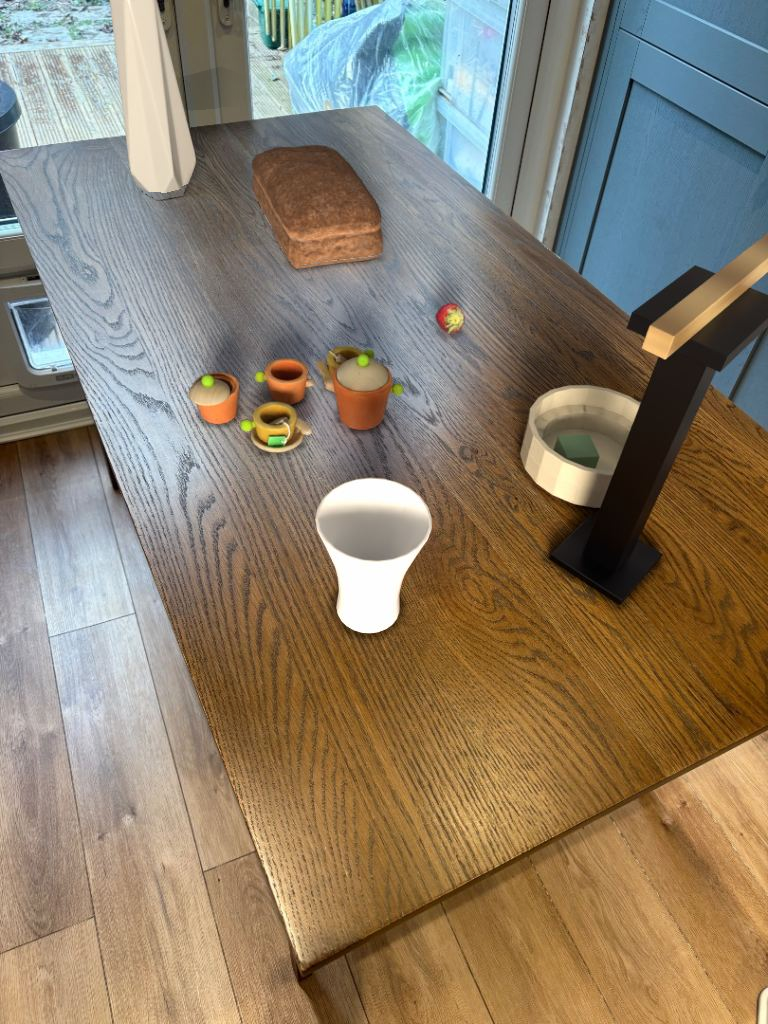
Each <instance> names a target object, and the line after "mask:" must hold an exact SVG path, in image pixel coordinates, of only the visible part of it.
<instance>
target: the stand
mask: <svg viewBox="0 0 768 1024" xmlns="http://www.w3.org/2000/svg"><path fill="white" fill-rule="evenodd" d="M716 273H717V272H716ZM716 273H715V272H713V271H711V270H709V269H706V268H703V267H701V266H699V265H695V264H694V265H693V266H692V267H690V268H689V269H688V270H686V271H685V272H683V274H680V276H679V277H677V278H675V279H674V280H673V281H672V282H670V283H669V284H668V285H666V286H665V287H664V288H662V289H661V290H660V291H658V292H657V293H656V294H654V295H653V296H651V297H650V298H649V299H648V300H646V301H644V303H642V304H641V305H639V306H637V308H635V309H634V310H633V311H631V313H630V317H629V320H628V323H627V325H626V329H627V330H629V331H631V332H633V333H635V334H637V335H640V336H642V337H644V338H645V337H646V334H647V331H648V329H649V326H650V325H651V324H652V323H653V322H655V321H656V320H657V319H659V318H660V317H661V316H662V315H664V314H665V313H666V312H667V311H669V310H670V309H671V308H673V307H674V306H675V305H676V304H678V303H679V302H680V301H681V300H683V299H684V298H685V297H687V296H688V295H689V294H690V293H692V292H693V291H694V290H695V289H697V288H698V287H699V286H701V285H702V284H703V283H704V282H706V281H707V280H708V279H709V278H711V277H712V276H713V275H715V274H716ZM767 328H768V294H767V293H764V292H762V291H759V290H757V289H755V288H753V287H750V288H748V289H747V290H746V291H745V292H744V293H743V294H741V295H740V296H739V297H738V298H737V299H736V300H734V301H733V302H732V303H731V304H730V305H729V306H727V307H726V308H725V309H724V310H723V311H722V312H720V313H719V314H718V315H717V316H716V317H715V318H713V319H712V320H711V321H710V322H709V323H708V324H706V325H705V326H704V327H703V328H702V329H700V330H699V331H698V332H697V333H696V334H695V335H693V336H692V337H691V338H690V339H689V340H688V341H686V342H685V343H684V344H683V345H682V346H681V347H679V348H678V349H677V350H676V351H675V352H674V353H672V354H671V355H670V356H669V357H668V358H667V359H663V358H661V357H659V356H657V359H656V361H655V365H654V367H653V370H652V372H651V374H650V377H649V381H648V383H647V385H646V388H645V390H644V393H643V396H642V398H641V401H640V406H639V408H638V411H637V414H636V416H635V419H634V421H633V424H632V427H631V429H630V432H629V434H628V437H627V440H626V442H625V445H624V447H623V450H622V452H621V455H620V458H619V460H618V463H617V465H616V468H615V471H614V473H613V476H612V478H611V481H610V483H609V486H608V489H607V491H606V494H605V496H604V499H603V502H602V504H601V507H600V508H598V509H599V510H598V512H597V513H596V512H594V511H593V512H592V513H590V515H588V517H587V518H586V519H585V520H584V521H583V522H581V523H580V524H579V526H577V528H575V529H574V531H572V532H571V533H570V534H569V535H568V536H567V537H566V538H565V539H564V540H563V541H562V542H561V543H560V544H559V545H558V546H557V547H556V548H555V549H554V550H553V551H552V552H551V553H550V554H549V558H548V560H549V561H551V563H554V564H555V565H556V566H558V567H560V568H561V569H563V570H564V571H566V572H567V573H569V574H571V575H572V576H574V577H575V578H576V579H578V580H580V581H581V582H583V583H584V584H585V585H587V586H589V587H590V588H592V589H594V590H595V591H597V592H598V593H599V594H601V595H603V596H604V597H606V598H607V599H608V600H610V601H612V602H613V603H615V604H616V605H618V606H621V605H622V604H623V603H624V602H625V601H626V599H628V597H629V596H630V595H631V594H632V592H633V591H634V590H635V589H636V588H637V587H638V586H639V584H640V583H642V581H643V580H644V579H645V577H647V576H648V574H649V573H650V572H651V571H652V570H653V568H655V567H656V565H657V564H658V563H659V562H660V560H661V559H662V556H663V555H664V554H663V553H662V552H660V551H659V550H657V549H656V548H654V547H652V546H651V545H649V544H648V543H646V542H644V541H642V540H640V537H641V535H642V534H643V531H644V528H645V526H646V524H647V522H648V520H649V518H650V516H651V514H652V511H653V510H654V507H655V505H656V503H657V500H658V499H659V496H660V494H661V492H662V490H663V487H664V485H665V483H666V481H667V479H668V476H669V475H670V472H671V470H672V468H673V466H674V465H675V462H676V459H677V457H678V455H679V453H680V451H681V449H682V446H683V445H684V442H685V440H686V438H687V436H688V433H689V432H690V430H691V427H692V425H693V423H694V421H695V418H696V417H697V414H698V412H699V409H700V407H701V405H702V403H703V401H704V399H705V397H706V395H707V392H708V390H709V388H710V386H711V383H712V382H713V379H714V378H715V376H716V375H715V374H716V373H717V372H718V373H721V372H722V371H723V370H725V368H726V367H727V366H728V365H730V363H732V361H734V359H736V357H737V356H739V355H740V354H742V352H743V351H744V350H745V349H746V348H747V347H749V345H750V344H751V343H752V342H753V341H754V340H756V339H757V338H758V337H759V336H760V335H761V334H762V333H763V332H764V331H765V330H766V329H767Z"/></svg>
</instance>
